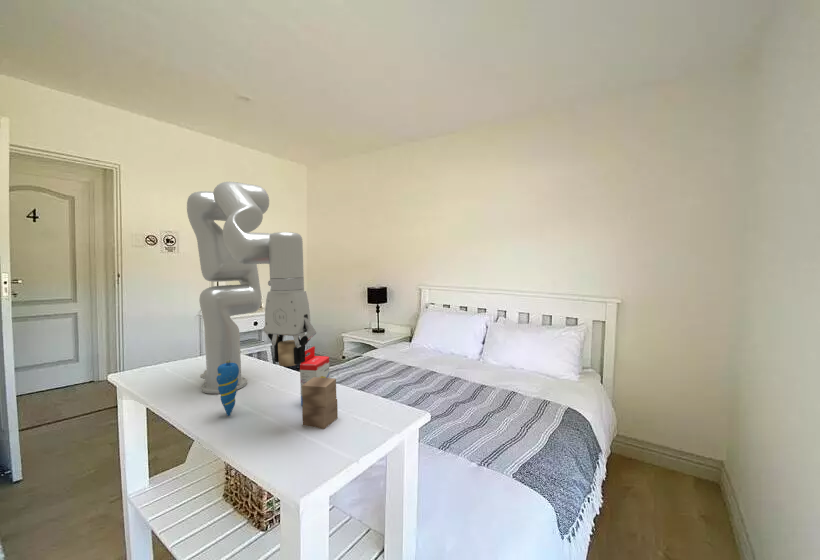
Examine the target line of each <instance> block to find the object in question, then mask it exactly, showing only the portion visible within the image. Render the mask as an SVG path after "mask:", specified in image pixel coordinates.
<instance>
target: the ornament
mask: <svg viewBox="0 0 820 560" xmlns="http://www.w3.org/2000/svg"><path fill="white" fill-rule="evenodd" d="M229 359H230V358H229ZM226 360H227V359H226ZM217 370H218V376H217V382H218V384H219V386H218V390H219V392H220V393H219V395H220V398H219V399H220V401H221V405H222V407H223V408H224V410H225V411H224V412H225V413H226V416H229V417H230V416H231V414H232V412H233V410H234V407H235V405H236V396H237V389H236V386H237V384H238V378H237V377H238V374H239V368H238V365H237V364H236V363H230V360H227V361H226V363H225V364H222V365H220V366H219V367H218V369H217Z"/></svg>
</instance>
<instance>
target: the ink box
mask: <svg viewBox="0 0 820 560" xmlns="http://www.w3.org/2000/svg"><path fill="white" fill-rule="evenodd" d="M315 352H316V346H315V345H314V346H312V347H310V348H307V349H305V361H304V362H302V363H300V364H299V373H300V374H299V376H300V377H299V378H300V406H301V407H302V405H303V402H302V385H303V384H305V383H306V382H308V381H309V380H310V379H312V378H313V377H320V378H330V356H325V355H316V354H315ZM308 353H309V354H308Z"/></svg>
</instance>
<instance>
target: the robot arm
mask: <svg viewBox="0 0 820 560" xmlns="http://www.w3.org/2000/svg"><path fill="white" fill-rule="evenodd" d="M269 206H270V198H269V194H268V192H267V191H266V190H265V188H263V187H262V186H261V185H257V184H250V183H244V182H235V181H222V182H220V183H219V184H217V185H216V186H215V187H214V190H213V191H211V190H209V191H207V190H201V191H195V192H194V191H193V193H191V194H189V196H188V197H187V201H186V213H187V214H186V215H187V218H188V221H189V224H190V226H191V228H192V230H193V232H194V235H195V237H196V241H197V250H198V257H199V264H200V271H201V275H202V277H203V279H204V280H206V281H208V282H212V283H214V282H215V283H216V282H217V283H218V282H220V283H221V282H234V281H235V282H236V281H238V282H239V284H226V285H215V286H214V285H213V286H208V287H207V288H205V289H203V290H202V291H201V293H200V294H199V307H200V311H201V314H202V315H201V316H202V320H203V329H204V345H205V364H206V366H205V367H206V370H204V371H203V373H201V374H200V375H199V378H200V379H204V383H203V384H202V385H201V392H203V393H205V394H208V395H209V394H211V395H214V394H215V395H217V394H219V395H220V392H219V390H218V386H219V384H218V382H217V376H218V370H217V369H218V367H219V366H220V365H222V364H225V363H226V361H227V360H230V363H236V364H237V365H238V368H239V374H238V377H237V378H238V384H237V386H236V389H237V390H239V389H242V388H244V387H246V385H247V384H248V379H247V378H246V377H244V376H242V364H241V363H242V361H241V341H240V334H241V333H240V328H239V326H238V325H237V323H235V321H233V320H232V318H231V316H237V315H246V314H252V313H256V312H257V311H259V310H260V308H261V306H262V292H261V284H260V278H259V276H260V275H259V269H258V265H264V264H267V265H269V280H268V282H267V285H268V286H270V287H269V288H270V290H269V291H268V292H267V295H266V298H265V309H264V327H263V328H262V332H264V333H265V334H266V335H267V336H268V339H269V340H270V341H271V344H272V346H273V348H274V349H273V350H274V352H273V353H274V362H275V363H279V360H278V343H279V342H281V341H285V336H288V337H289V336H290V337H293V340H294V341H295V345H296V347H295V348H294V364H296V365H295V366H297V365H300V363H302V362H304V361H305V350H306V347H305V346H307V345H308V343H309V341H311V340H312V338H313V337H315V335H316V334H317V331H316V329H315V328H314V327H313V325H312V323H311V311H310V303H309V299H308V294H307V291H305V280H304V279H305V278H304V276H305V275H304V274H305V273H304V247H303V237H302V235H301V234H300V233H298V232H291V231H290V232H288V231H281V232H280V231H279V232H278V231H277V232H273V233H268V232H254V231H255V230H257V228H259V227H260V225H261V224H262V222H263V219H264V214H265V213H266V212H267V211H268V209H269ZM215 221H220V222H221V221H223V222H224V225H223V228H222V227H221V226H220V225H219V224H218V223H216V222H215ZM229 358H230V359H229ZM226 359H227V360H226Z"/></svg>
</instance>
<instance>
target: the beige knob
mask: <svg viewBox="0 0 820 560" xmlns="http://www.w3.org/2000/svg"><path fill="white" fill-rule="evenodd" d="M295 347H296V345H295V341H294V339H287V340H284V341H281V342H279V343H278V360H279V362H278V365H279V366H280V367H292V366H293V367H294V366H297V365H296V364H294V348H295Z"/></svg>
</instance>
